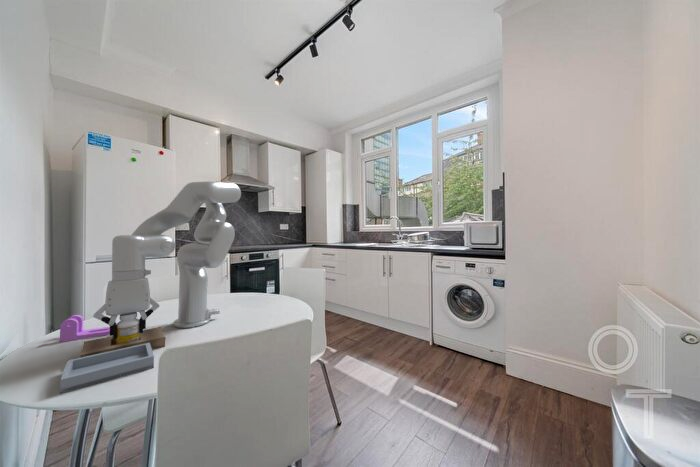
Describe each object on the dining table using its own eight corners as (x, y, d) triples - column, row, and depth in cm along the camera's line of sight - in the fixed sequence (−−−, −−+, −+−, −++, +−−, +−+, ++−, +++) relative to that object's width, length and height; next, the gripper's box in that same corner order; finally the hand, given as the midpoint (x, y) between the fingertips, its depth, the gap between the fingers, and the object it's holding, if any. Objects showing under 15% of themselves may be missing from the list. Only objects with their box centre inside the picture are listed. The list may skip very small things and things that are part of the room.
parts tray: (149, 352, 72) (149, 342, 73) (153, 367, 65) (153, 356, 65) (67, 372, 61) (67, 360, 61) (60, 393, 53) (60, 379, 54)
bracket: (59, 342, 78) (60, 320, 78) (67, 336, 83) (67, 315, 83) (114, 334, 85) (115, 314, 85) (119, 329, 90) (119, 310, 90)
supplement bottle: (120, 342, 76) (121, 312, 76) (142, 340, 79) (142, 310, 79) (112, 350, 72) (112, 317, 71) (135, 347, 74) (136, 315, 74)
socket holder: (160, 335, 85) (160, 326, 85) (165, 346, 77) (165, 336, 77) (83, 351, 72) (84, 341, 72) (79, 366, 64) (80, 355, 64)
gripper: (162, 271, 84) (161, 324, 84) (89, 276, 72) (88, 338, 72) (165, 274, 78) (164, 330, 78) (86, 281, 66) (86, 347, 66)
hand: (128, 333), depth 75 cm, fingers closed on supplement bottle, 5 cm apart
